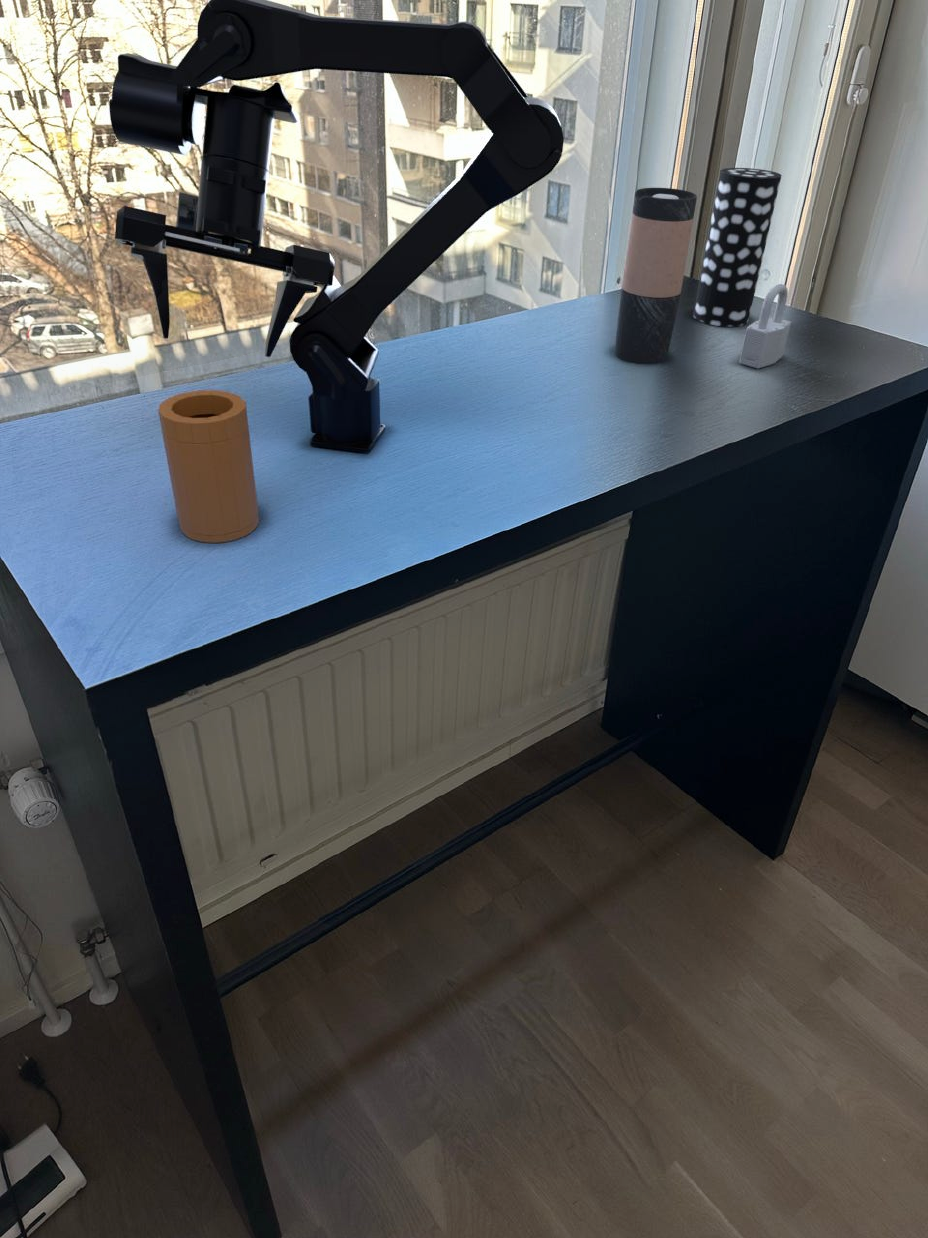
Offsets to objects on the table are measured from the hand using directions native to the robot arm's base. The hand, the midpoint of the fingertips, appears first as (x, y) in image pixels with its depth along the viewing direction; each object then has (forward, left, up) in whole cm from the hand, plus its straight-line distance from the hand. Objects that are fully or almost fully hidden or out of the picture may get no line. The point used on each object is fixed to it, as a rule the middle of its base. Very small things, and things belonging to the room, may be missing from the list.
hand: (217, 347), depth 80 cm
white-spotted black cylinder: (-50, -66, -12) cm, 83 cm away
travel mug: (-39, -45, -12) cm, 60 cm away
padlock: (-55, -48, -12) cm, 74 cm away
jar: (-4, +12, -11) cm, 17 cm away
